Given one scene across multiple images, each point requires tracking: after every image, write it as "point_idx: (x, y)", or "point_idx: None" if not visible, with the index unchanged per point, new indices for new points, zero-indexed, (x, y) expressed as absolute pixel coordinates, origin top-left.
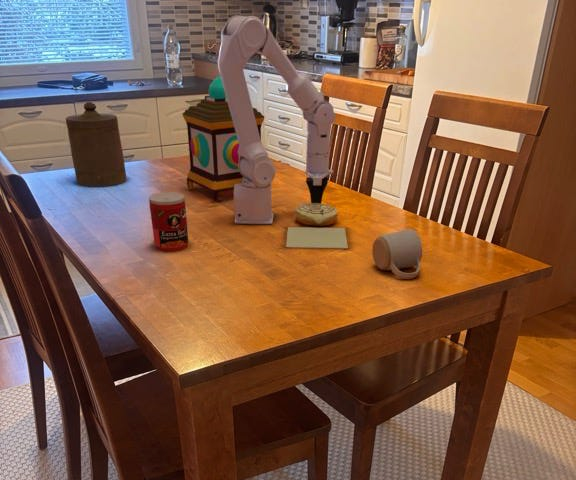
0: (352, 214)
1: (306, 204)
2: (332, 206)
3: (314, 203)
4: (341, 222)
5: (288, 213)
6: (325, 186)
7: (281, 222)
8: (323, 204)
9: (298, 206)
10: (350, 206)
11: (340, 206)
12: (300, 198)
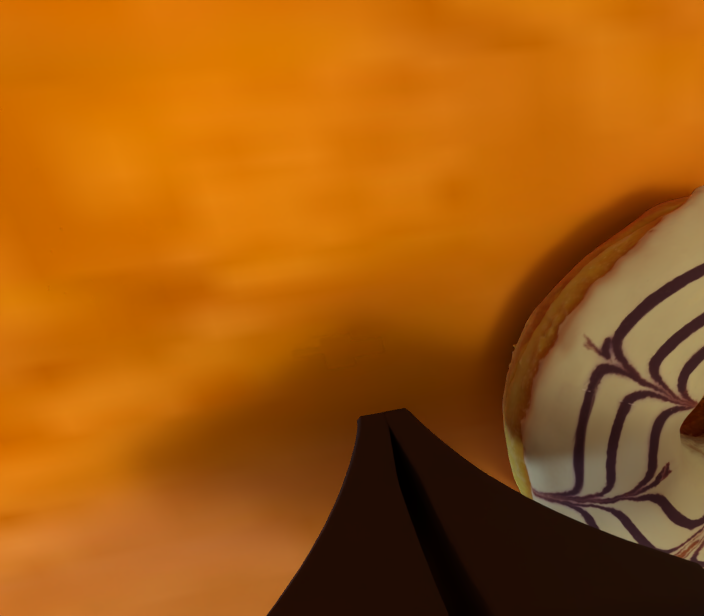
0: (392, 52)
1: (697, 545)
2: (690, 271)
3: (641, 482)
4: (655, 151)
5: None
6: (647, 552)
7: None
8: (665, 384)
9: None
10: (87, 100)
11: (130, 219)
12: (11, 601)
